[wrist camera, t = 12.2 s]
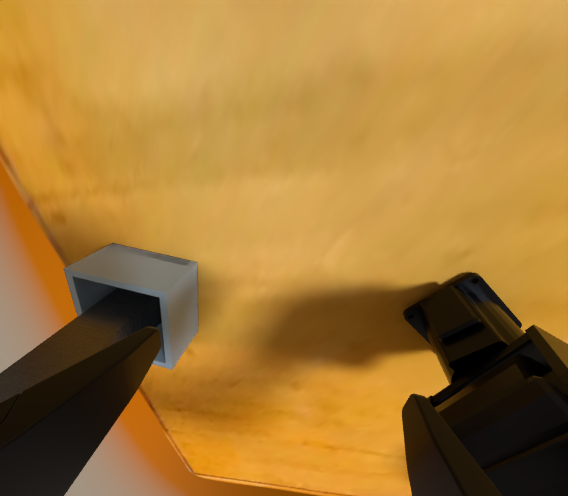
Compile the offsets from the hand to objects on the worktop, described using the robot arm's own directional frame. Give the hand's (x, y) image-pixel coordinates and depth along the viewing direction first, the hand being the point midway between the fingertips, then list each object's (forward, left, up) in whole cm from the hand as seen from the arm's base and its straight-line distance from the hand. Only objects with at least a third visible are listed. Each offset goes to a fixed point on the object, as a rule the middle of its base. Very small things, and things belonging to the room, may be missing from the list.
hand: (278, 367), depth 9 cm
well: (+6, +16, -13) cm, 21 cm away
